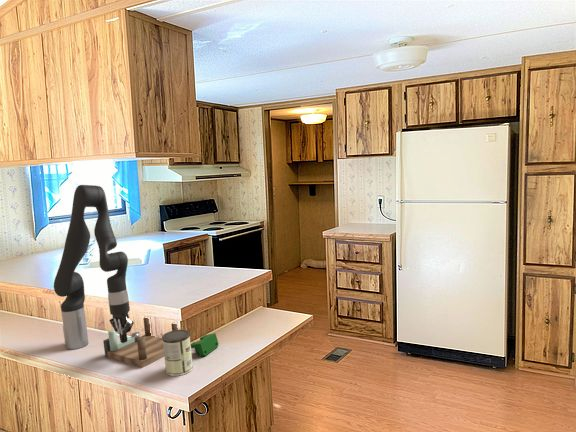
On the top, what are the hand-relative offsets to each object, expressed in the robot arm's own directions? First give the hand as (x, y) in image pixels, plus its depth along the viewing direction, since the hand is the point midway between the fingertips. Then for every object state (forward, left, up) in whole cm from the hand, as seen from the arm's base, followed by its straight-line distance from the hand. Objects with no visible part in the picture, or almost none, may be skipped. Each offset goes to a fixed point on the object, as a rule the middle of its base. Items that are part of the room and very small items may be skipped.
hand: (123, 342), depth 183 cm
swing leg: (-7, +5, -4) cm, 10 cm away
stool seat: (+2, +9, -7) cm, 12 cm away
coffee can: (+28, +3, -8) cm, 29 cm away
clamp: (+25, +20, -8) cm, 33 cm away
